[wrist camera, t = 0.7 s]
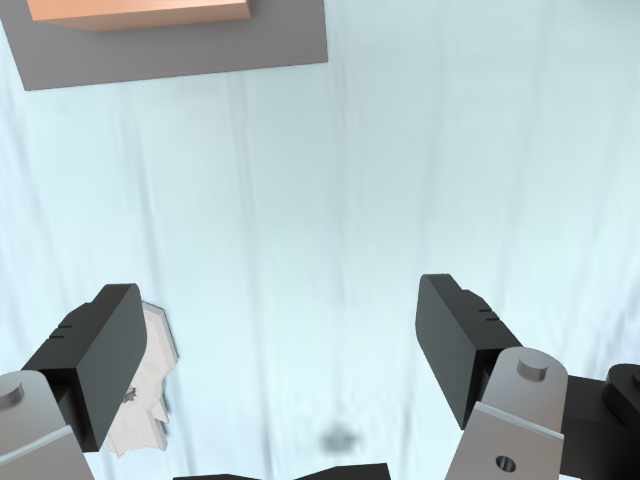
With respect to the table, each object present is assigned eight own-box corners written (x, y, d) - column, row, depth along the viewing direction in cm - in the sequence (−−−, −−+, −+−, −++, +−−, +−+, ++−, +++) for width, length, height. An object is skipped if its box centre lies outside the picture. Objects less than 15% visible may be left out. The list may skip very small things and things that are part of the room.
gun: (197, 453, 45) (103, 470, 45) (203, 429, 49) (115, 444, 48) (151, 303, 39) (41, 321, 39) (161, 287, 42) (60, 303, 42)
